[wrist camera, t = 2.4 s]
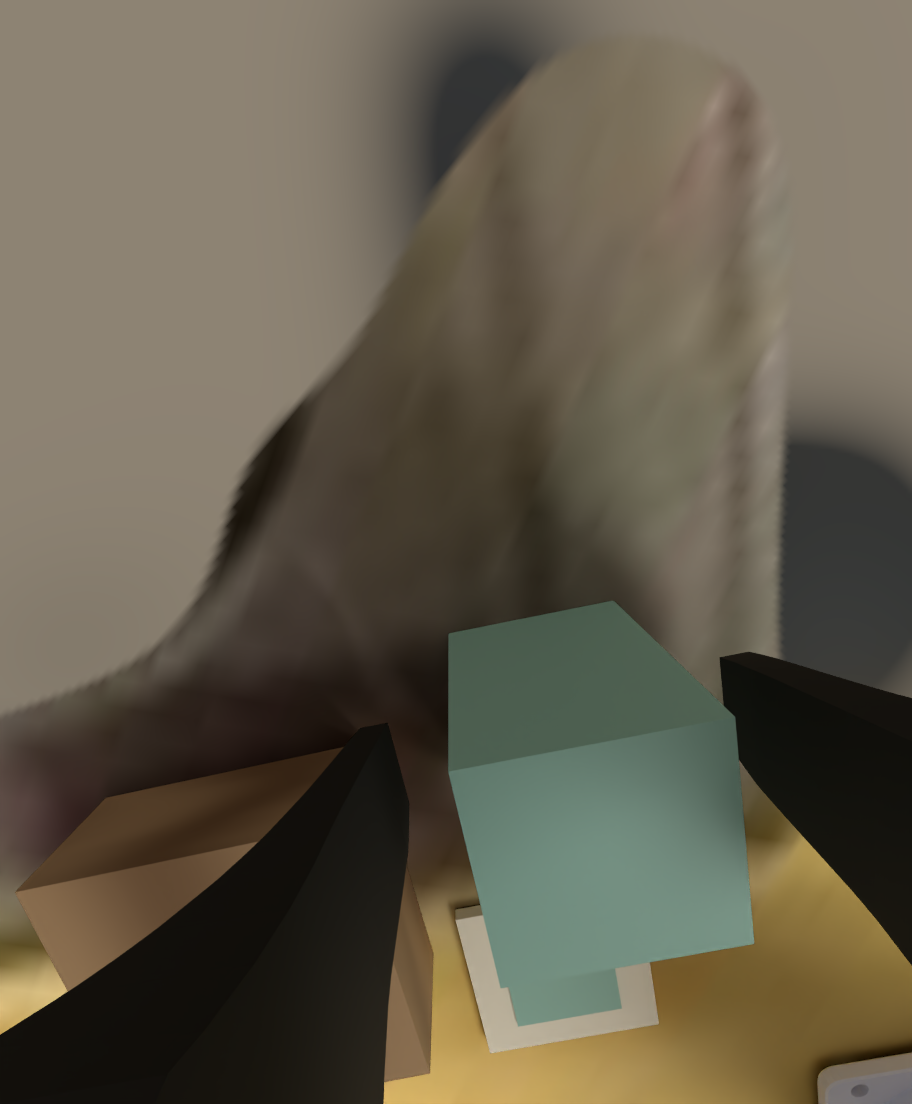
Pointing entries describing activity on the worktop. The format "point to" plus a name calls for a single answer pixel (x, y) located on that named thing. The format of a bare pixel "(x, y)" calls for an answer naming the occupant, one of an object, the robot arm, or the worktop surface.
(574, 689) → the teal block
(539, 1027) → the tile
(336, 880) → the robot arm
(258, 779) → the walnut slab
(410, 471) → the worktop surface
